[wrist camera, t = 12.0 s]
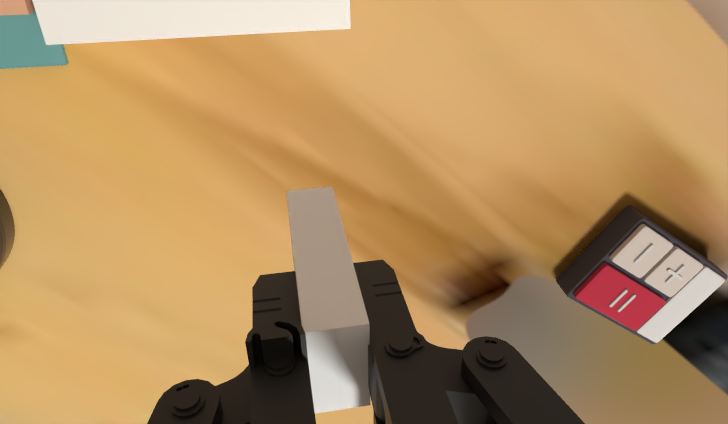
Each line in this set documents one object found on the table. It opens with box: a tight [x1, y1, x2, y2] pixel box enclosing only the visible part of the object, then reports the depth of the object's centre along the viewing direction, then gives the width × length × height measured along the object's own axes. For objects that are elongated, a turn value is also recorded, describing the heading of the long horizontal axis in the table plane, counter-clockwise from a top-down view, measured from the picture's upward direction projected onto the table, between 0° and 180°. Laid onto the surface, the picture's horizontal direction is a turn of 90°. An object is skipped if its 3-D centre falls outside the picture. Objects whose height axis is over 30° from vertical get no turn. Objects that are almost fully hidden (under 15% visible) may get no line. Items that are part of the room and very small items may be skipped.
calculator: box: [557, 206, 727, 344], centre depth 58 cm, size 11×4×15 cm
